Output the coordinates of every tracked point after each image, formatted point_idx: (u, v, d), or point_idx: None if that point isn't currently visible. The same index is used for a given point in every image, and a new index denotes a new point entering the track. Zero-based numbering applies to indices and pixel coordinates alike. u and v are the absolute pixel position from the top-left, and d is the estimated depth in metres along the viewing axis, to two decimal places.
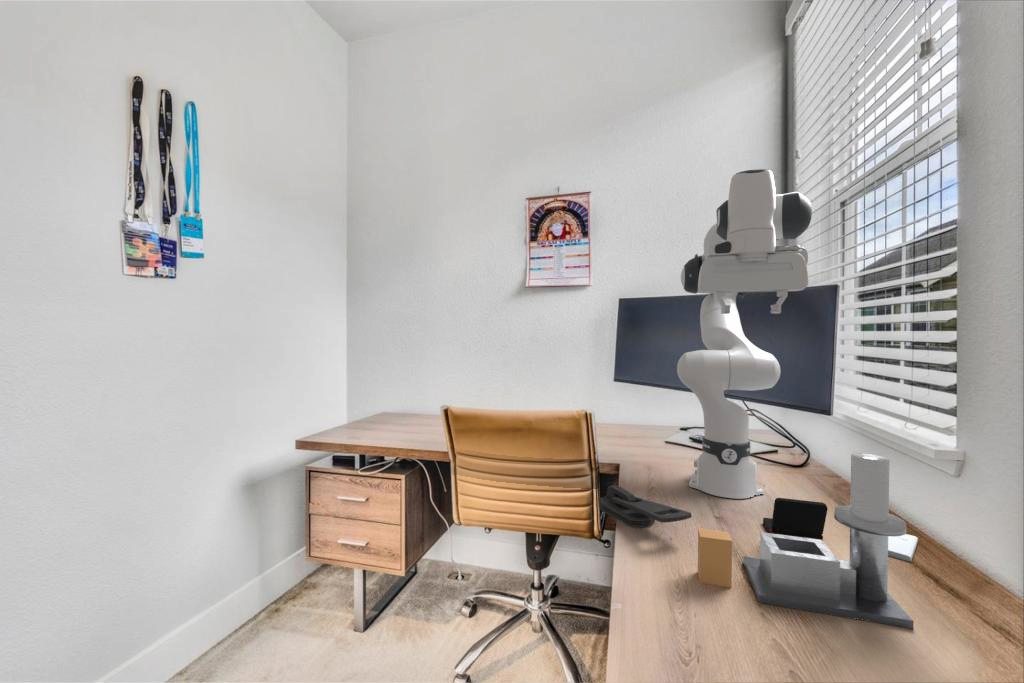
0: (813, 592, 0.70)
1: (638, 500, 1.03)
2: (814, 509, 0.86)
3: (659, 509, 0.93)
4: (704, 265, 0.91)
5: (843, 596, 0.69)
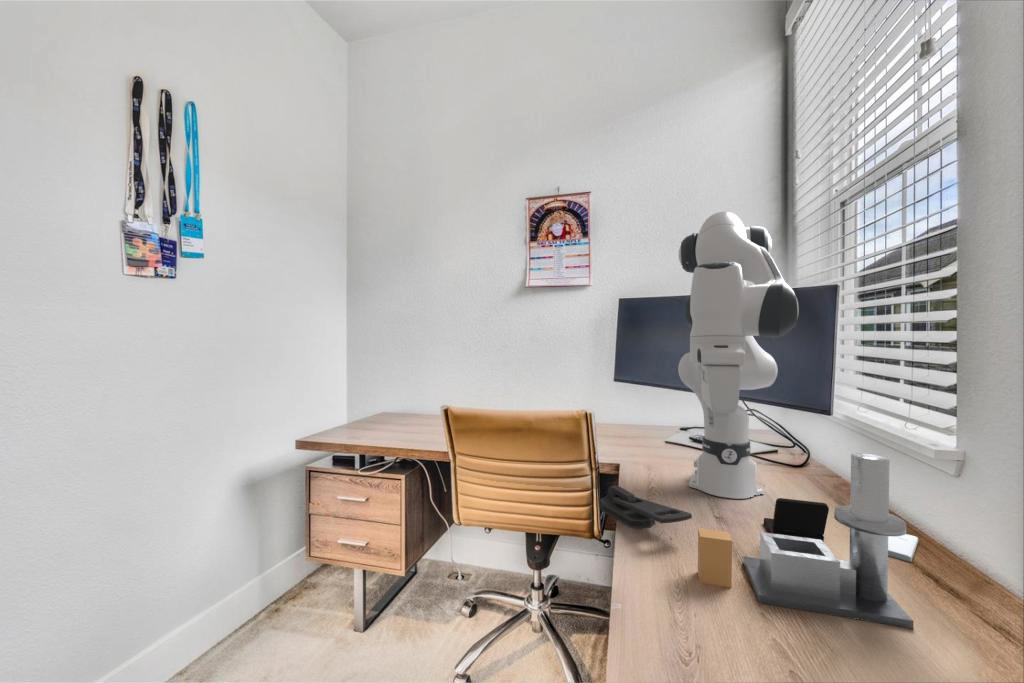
0: (813, 592, 0.70)
1: (639, 501, 1.02)
2: (815, 509, 0.86)
3: (659, 509, 0.93)
4: (740, 378, 0.67)
5: (843, 596, 0.69)
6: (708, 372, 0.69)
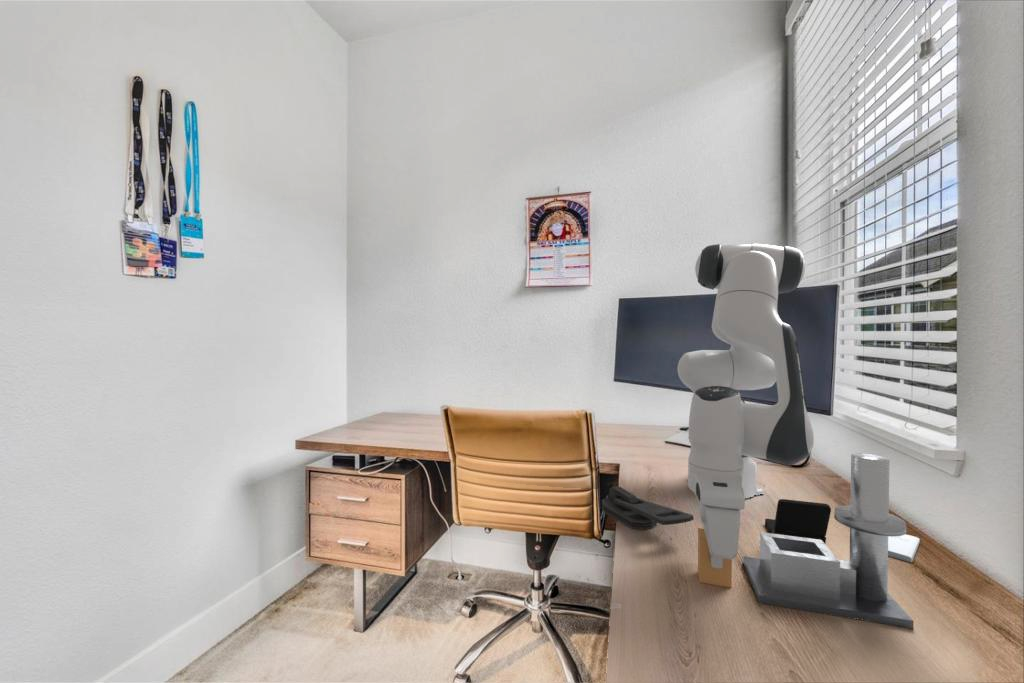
0: (813, 592, 0.70)
1: (640, 502, 1.02)
2: (817, 510, 0.86)
3: (660, 511, 0.92)
4: (739, 525, 0.67)
5: (843, 596, 0.69)
6: (707, 515, 0.68)
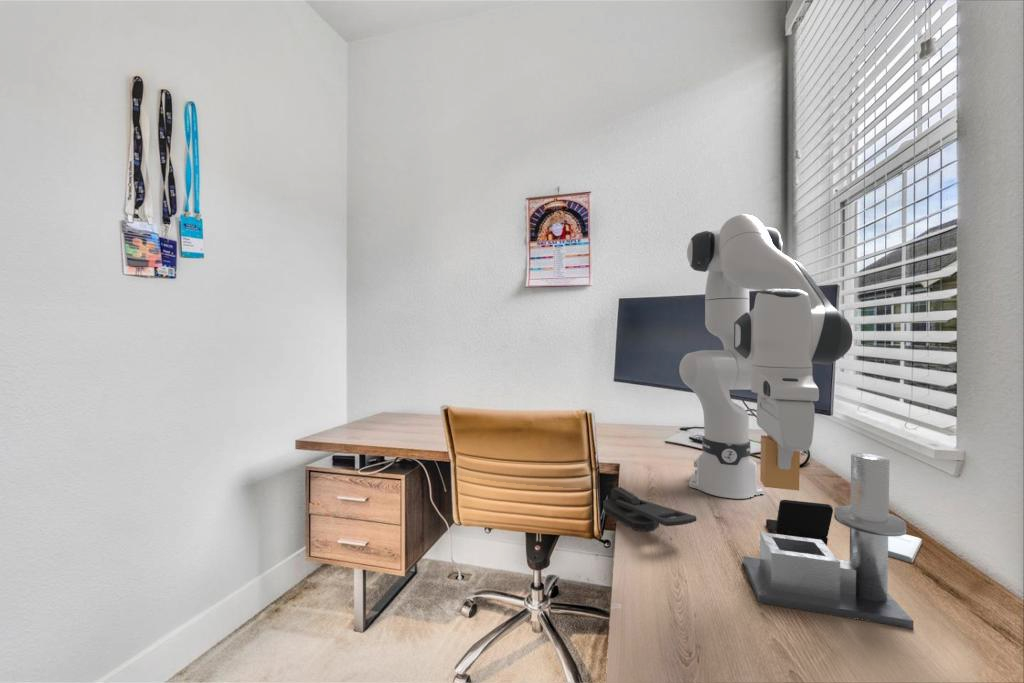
0: (813, 592, 0.70)
1: (642, 503, 1.01)
2: (819, 510, 0.86)
3: (663, 512, 0.91)
4: (814, 415, 0.65)
5: (843, 596, 0.69)
6: (779, 408, 0.66)
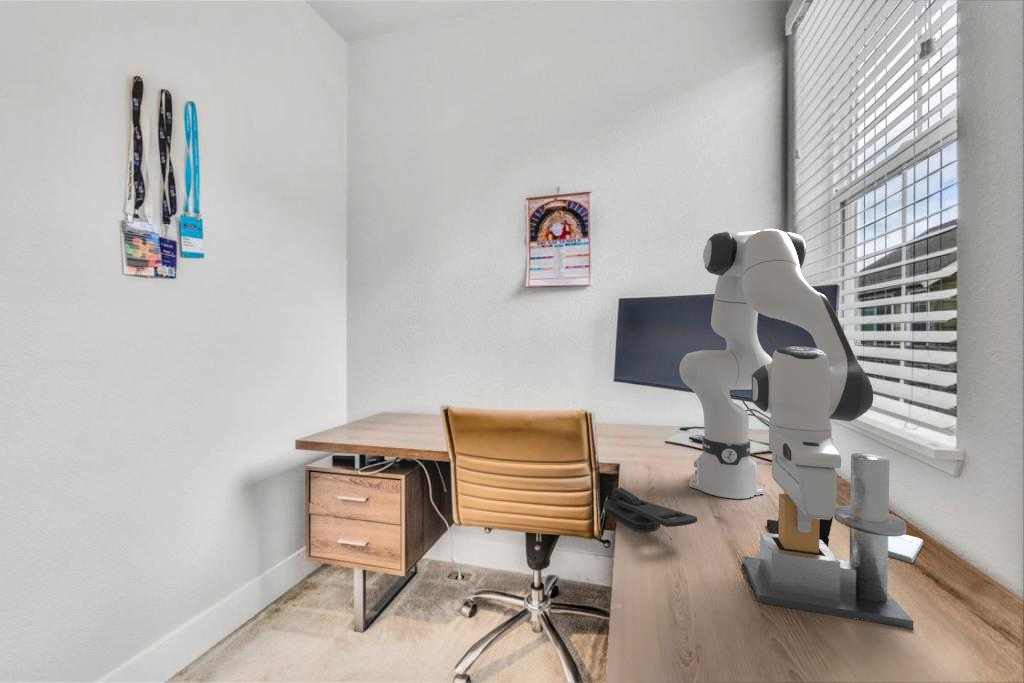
0: (813, 592, 0.70)
1: (643, 503, 1.01)
2: None
3: (664, 513, 0.91)
4: (836, 483, 0.64)
5: (843, 596, 0.69)
6: (801, 475, 0.65)
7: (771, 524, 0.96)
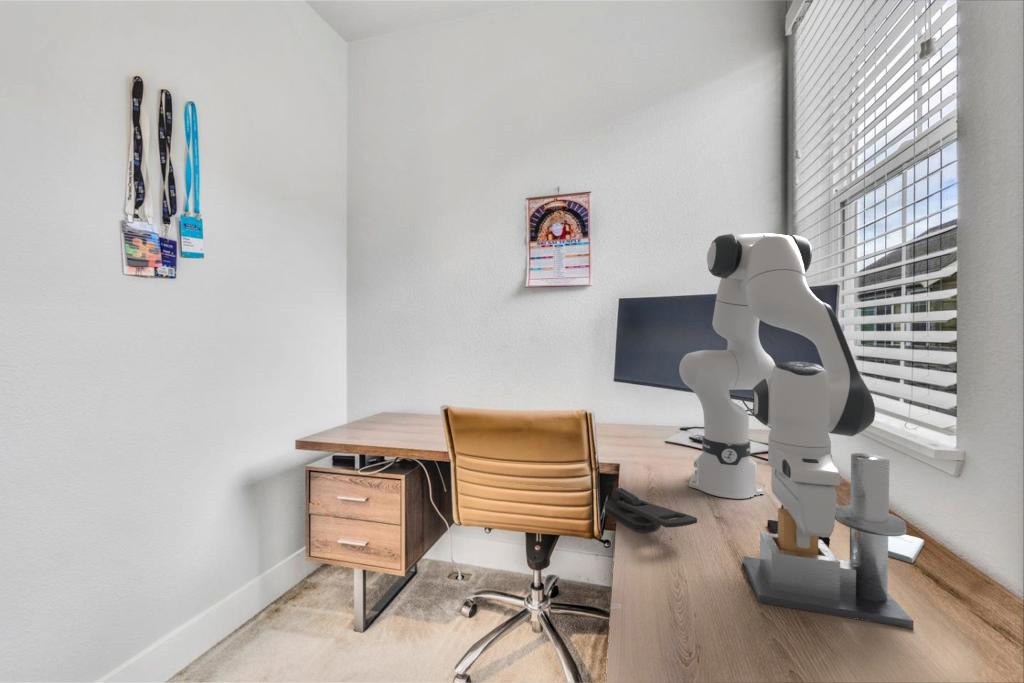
0: (813, 592, 0.70)
1: (643, 504, 1.00)
2: None
3: (663, 513, 0.91)
4: (835, 501, 0.64)
5: (843, 596, 0.69)
6: (800, 492, 0.66)
7: (772, 524, 0.96)
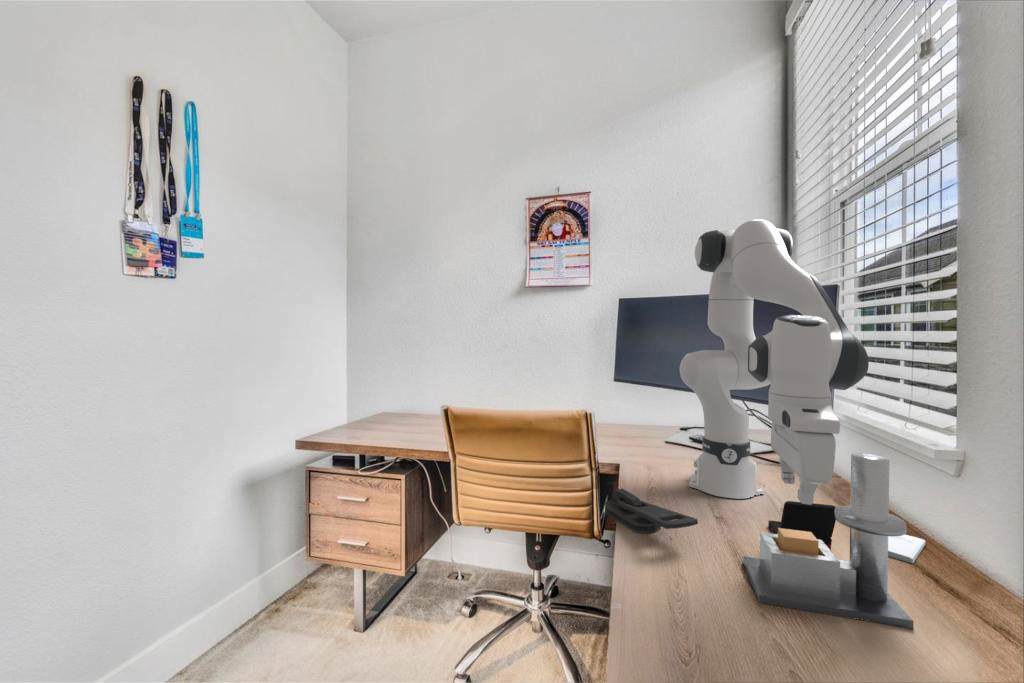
0: (813, 592, 0.70)
1: (644, 505, 1.00)
2: (824, 512, 0.85)
3: (664, 514, 0.90)
4: (835, 448, 0.64)
5: (843, 596, 0.69)
6: (800, 440, 0.66)
7: (773, 525, 0.95)
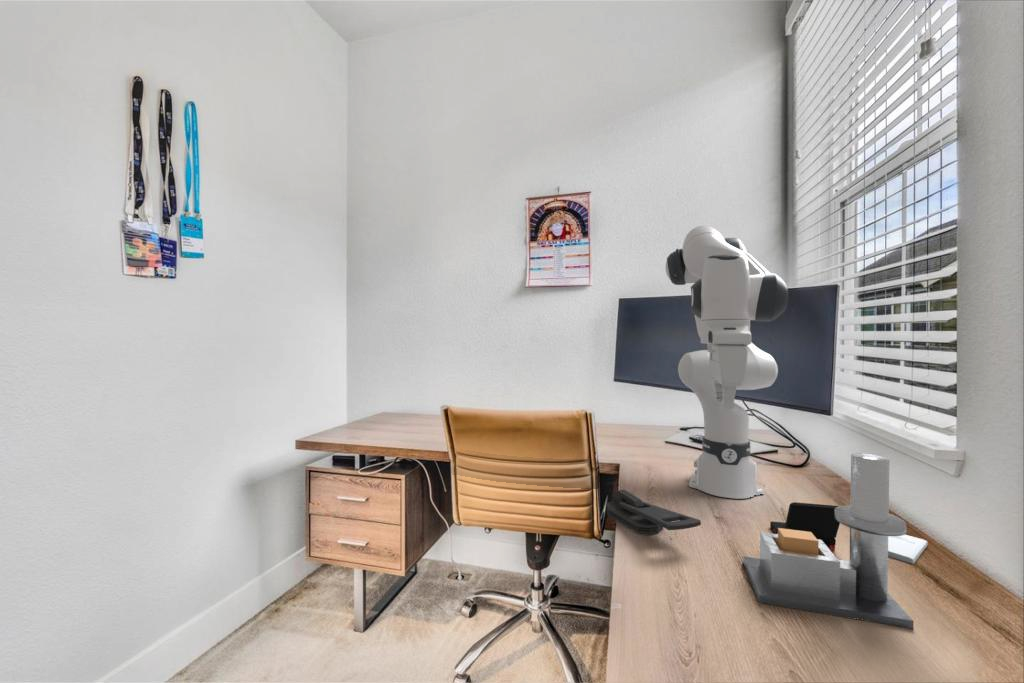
0: (813, 592, 0.70)
1: (646, 506, 0.99)
2: (829, 512, 0.85)
3: (666, 515, 0.90)
4: (746, 356, 0.77)
5: (843, 596, 0.69)
6: (719, 351, 0.78)
7: (776, 526, 0.95)
